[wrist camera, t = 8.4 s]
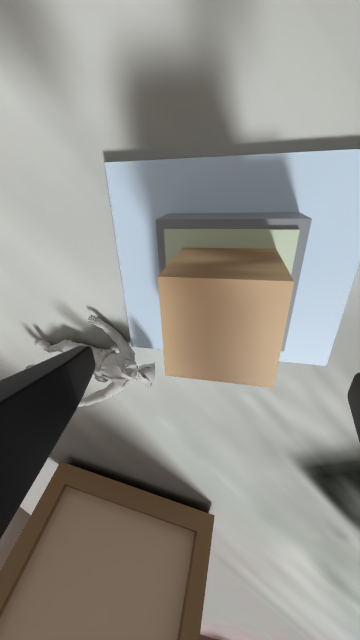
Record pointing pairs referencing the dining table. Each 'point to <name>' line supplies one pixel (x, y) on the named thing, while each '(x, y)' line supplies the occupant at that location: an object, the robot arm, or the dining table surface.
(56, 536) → the photo frame
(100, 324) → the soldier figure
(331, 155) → the board
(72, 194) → the dining table surface
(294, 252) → the base block
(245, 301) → the oak cube
